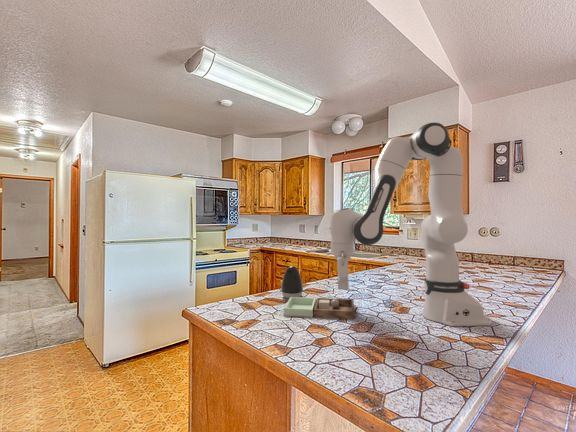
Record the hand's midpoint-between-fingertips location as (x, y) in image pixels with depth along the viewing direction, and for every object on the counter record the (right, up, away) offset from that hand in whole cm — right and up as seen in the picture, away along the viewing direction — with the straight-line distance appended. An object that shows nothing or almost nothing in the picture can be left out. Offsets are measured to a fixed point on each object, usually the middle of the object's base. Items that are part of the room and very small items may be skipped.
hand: (343, 285), depth 117 cm
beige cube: (-7, -11, +1) cm, 13 cm away
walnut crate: (-3, -11, +2) cm, 12 cm away
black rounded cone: (-20, -12, +23) cm, 32 cm away
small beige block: (0, -1, 0) cm, 1 cm away
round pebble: (-2, -11, +6) cm, 12 cm away
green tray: (-16, -11, +4) cm, 20 cm away
